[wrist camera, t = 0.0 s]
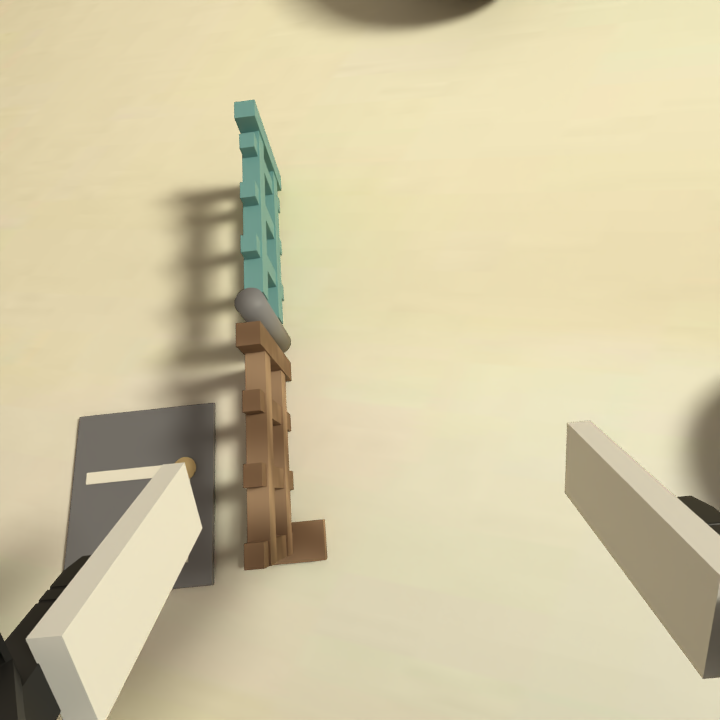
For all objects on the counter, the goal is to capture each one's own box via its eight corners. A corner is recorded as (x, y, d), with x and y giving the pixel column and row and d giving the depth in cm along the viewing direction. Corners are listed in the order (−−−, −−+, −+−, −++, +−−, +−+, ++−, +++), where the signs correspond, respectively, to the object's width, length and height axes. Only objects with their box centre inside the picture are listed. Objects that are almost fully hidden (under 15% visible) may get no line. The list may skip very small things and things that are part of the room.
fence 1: (291, 352, 33) (263, 310, 25) (267, 355, 33) (232, 314, 25) (283, 176, 38) (257, 99, 30) (262, 179, 38) (231, 102, 30)
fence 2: (327, 558, 29) (303, 579, 21) (251, 565, 29) (200, 589, 21) (314, 360, 33) (291, 317, 25) (248, 367, 33) (205, 326, 25)
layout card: (213, 584, 29) (211, 585, 28) (64, 598, 29) (59, 599, 29) (215, 403, 32) (213, 402, 32) (82, 417, 33) (78, 416, 32)
